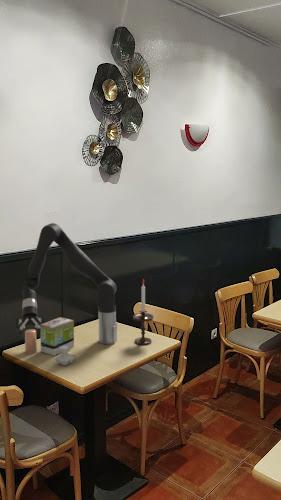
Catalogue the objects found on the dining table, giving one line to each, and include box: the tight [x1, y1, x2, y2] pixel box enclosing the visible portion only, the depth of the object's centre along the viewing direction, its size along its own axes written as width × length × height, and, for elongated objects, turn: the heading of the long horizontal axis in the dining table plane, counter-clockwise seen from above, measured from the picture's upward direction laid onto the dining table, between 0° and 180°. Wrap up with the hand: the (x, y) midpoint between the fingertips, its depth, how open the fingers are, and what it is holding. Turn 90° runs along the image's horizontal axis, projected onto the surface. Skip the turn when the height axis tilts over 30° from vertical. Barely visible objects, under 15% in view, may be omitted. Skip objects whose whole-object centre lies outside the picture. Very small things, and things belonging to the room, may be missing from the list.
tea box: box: [40, 316, 75, 357], centre depth 238 cm, size 15×10×15 cm, turn 148°
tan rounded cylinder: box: [24, 328, 38, 355], centre depth 235 cm, size 6×6×11 cm
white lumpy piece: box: [54, 345, 75, 366], centre depth 221 cm, size 9×7×8 cm
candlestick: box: [132, 278, 154, 346], centre depth 246 cm, size 11×11×35 cm
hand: (30, 336), depth 236 cm, fingers open, 8 cm apart
